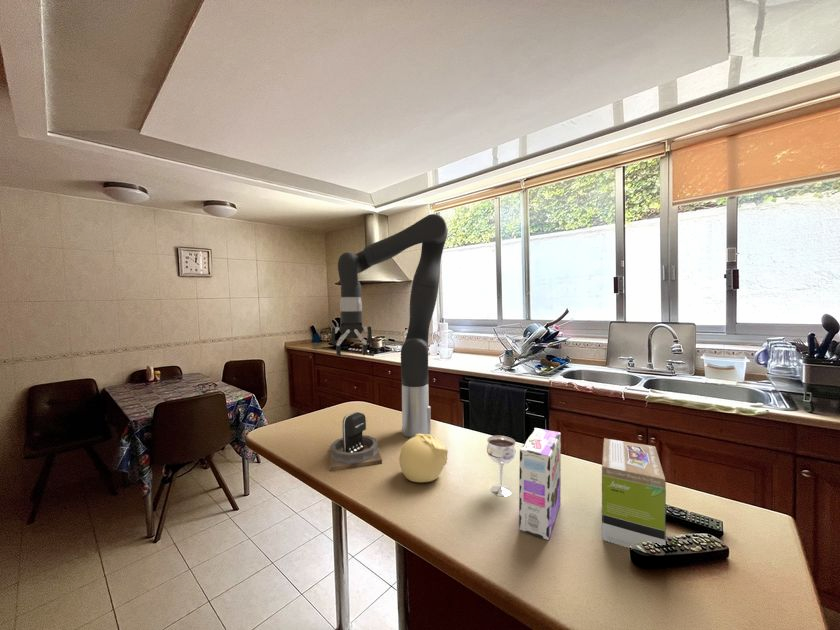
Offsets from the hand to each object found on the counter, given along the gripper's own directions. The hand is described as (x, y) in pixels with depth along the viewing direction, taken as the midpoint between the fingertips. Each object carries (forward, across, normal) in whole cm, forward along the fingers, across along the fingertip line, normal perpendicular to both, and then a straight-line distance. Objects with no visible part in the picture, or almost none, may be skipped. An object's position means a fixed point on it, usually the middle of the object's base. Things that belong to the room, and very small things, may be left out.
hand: (351, 355), depth 117 cm
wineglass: (+27, -30, +51) cm, 65 cm away
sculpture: (+27, -14, +38) cm, 49 cm away
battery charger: (+26, +1, +21) cm, 33 cm away
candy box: (+27, -33, +62) cm, 75 cm away
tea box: (+27, -48, +70) cm, 89 cm away
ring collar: (+27, +2, +21) cm, 34 cm away
